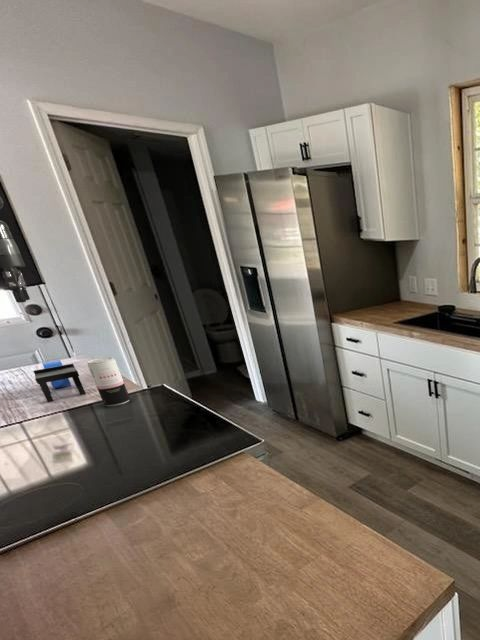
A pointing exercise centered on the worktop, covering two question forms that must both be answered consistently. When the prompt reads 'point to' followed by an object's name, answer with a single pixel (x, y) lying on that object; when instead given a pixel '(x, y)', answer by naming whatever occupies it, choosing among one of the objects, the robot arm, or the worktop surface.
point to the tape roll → (59, 382)
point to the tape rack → (57, 378)
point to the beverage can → (108, 381)
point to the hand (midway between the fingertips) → (23, 301)
